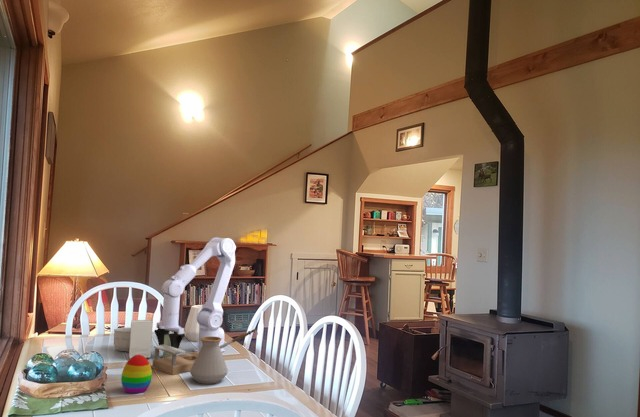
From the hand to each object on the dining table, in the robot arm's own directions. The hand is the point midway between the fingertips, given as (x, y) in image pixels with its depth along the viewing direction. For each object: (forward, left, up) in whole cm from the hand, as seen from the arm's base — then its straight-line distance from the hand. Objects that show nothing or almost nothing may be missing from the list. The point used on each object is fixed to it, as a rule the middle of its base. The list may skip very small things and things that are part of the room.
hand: (168, 351), depth 176 cm
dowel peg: (0, 0, -2) cm, 2 cm away
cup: (-27, -18, -2) cm, 33 cm away
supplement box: (+8, -6, -2) cm, 10 cm away
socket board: (+2, +14, -2) cm, 14 cm away
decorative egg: (+27, +26, -2) cm, 38 cm away
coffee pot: (+1, +33, -2) cm, 33 cm away
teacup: (+5, -17, -2) cm, 18 cm away
